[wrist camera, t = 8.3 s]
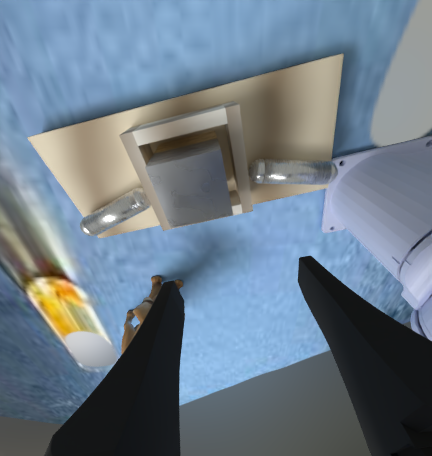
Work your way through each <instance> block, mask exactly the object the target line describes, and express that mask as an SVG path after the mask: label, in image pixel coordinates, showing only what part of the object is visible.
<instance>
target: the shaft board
mask: <svg viewBox="0 0 432 456" xmlns="http://www.w3.org/2000/svg"><path fill="white" fill-rule="evenodd" d="M343 55H344V54H339V55H334V56H329V57H325V58H322V59H318V60H314V61H310V62H306V63H303V64H299V65H295V66H291V67H288V68H284V69H280V70H276V71H273V72H269V73H265V74H261V75H258V76H254V77H250V78H246V79H243V80H239V81H235V82H231V83H227V84H224V85H220V86H216V87H212V88H209V89H205V90H201V91H197V92H194V93H190V94H186V95H182V96H179V97H175V98H171V99H167V100H164V101H160V102H156V103H152V104H149V105H145V106H141V107H137V108H133V109H130V110H126V111H122V112H118V113H115V114H111V115H107V116H103V117H100V118H96V119H92V120H88V121H85V122H81V123H77V124H73V125H70V126H66V127H62V128H58V129H54V130H51V131H47V132H43V133H40V134H37V135H34V136H31V137H27V138H28V140H29V141H30V142H31V144H32V145H33V147H34V148H35V149H36V151H37V152H38V153H39V155H40V156H41V158H42V159H43V160H44V162H45V163H46V165H47V166H48V167H49V169H50V170H51V172H52V173H53V174H54V176H55V177H56V179H57V180H58V181H59V183H60V184H61V186H62V187H63V188H64V190H65V191H66V193H67V194H68V195H69V197H70V198H71V200H72V201H73V202H74V204H75V205H76V207H77V208H78V209H79V211H80V212H81V214H82V215H83V216H84V217H85V216H87V215H89V214H91V213H92V212H94V211H96V210H98V209H100V208H101V207H103V206H105V205H107V204H108V203H110V202H112V201H114V200H116V199H117V198H119V197H121V196H123V195H125V194H126V193H128V192H130V191H132V190H133V189H136V188H144V190H145V193H146V195H147V197H148V199H149V201H150V203H151V207H150V208H148V209H147V210H145V211H143V212H141V213H139V214H137V215H135V216H134V217H132V218H130V219H128V220H126V221H124V222H122V223H120V224H118V225H116V226H114V227H113V228H111V229H109V230H107V231H105V232H103V233H101V234H99V235H97V236H98V237H99V238H103V237H108V236H113V235H117V234H122V233H126V232H131V231H135V230H140V229H144V228H149V227H153V226H158V225H161V227H162V229H163V231H164V230H169V229H173V228H170V225H169V223H168V220H167V218H166V216H165V213H164V211H163V209H162V206H161V204H160V202H159V199H158V197H157V195H156V192H155V190H154V187H153V185H152V183H151V180H150V178H149V176H148V173H147V171H146V169H145V167H146V165H147V164H148V162H149V160H150V159H151V157H152V156H153V154H154V152H155V151H156V149H157V148H158V146H159V145H160V144H161V143H165V142H169V141H173V140H177V139H181V138H185V137H189V136H194V135H198V134H202V133H206V132H210V131H214V130H215V133H216V136H217V139H218V142H219V145H220V149H221V153H222V158H223V164H224V169H225V174H226V179H227V185H228V190H229V195H230V200H231V206H232V211H233V215H237V214H242V213H246V212H251V211H253V207H252V205H253V204H257V203H262V202H266V201H271V200H275V199H280V198H284V197H289V196H293V195H298V194H302V193H307V192H312V191H316V190H321V189H325V188H328V184H326V185H305V184H259V183H255V182H254V181H252V180H251V178H250V176H249V168H250V165H251V164H252V163H253V162H254V161H255V160H258V159H288V160H323V161H331V158H332V150H333V141H334V133H335V124H336V116H337V107H338V98H339V90H340V81H341V73H342V64H343ZM233 215H232V216H233ZM227 217H228V216H227ZM222 218H224V217H222ZM218 219H219V218H218ZM213 220H214V219H213ZM208 221H210V220H208ZM204 222H205V221H204ZM199 223H201V222H199ZM194 224H196V223H194ZM189 225H192V224H189ZM185 226H187V225H185ZM180 227H182V226H180ZM175 228H178V227H175Z"/></svg>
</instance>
